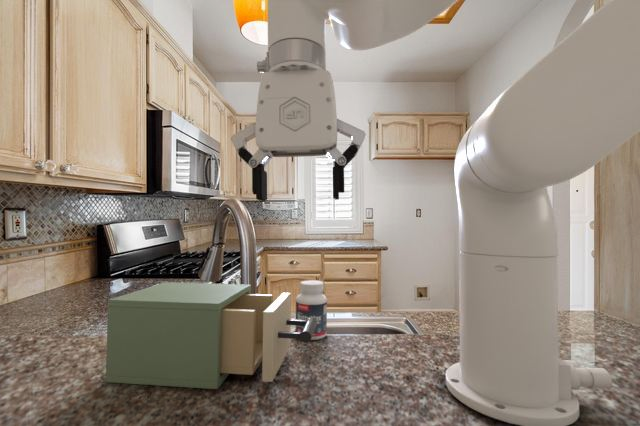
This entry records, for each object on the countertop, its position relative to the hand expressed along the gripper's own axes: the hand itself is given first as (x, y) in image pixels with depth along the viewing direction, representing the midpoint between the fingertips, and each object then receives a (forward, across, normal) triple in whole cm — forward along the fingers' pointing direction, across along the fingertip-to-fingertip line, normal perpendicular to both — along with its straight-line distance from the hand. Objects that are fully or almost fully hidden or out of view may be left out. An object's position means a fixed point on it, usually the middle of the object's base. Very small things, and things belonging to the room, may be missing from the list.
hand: (298, 199), depth 41 cm
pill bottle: (+22, 0, +14) cm, 26 cm away
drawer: (+21, -7, +1) cm, 22 cm away
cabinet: (+22, -16, +1) cm, 27 cm away
